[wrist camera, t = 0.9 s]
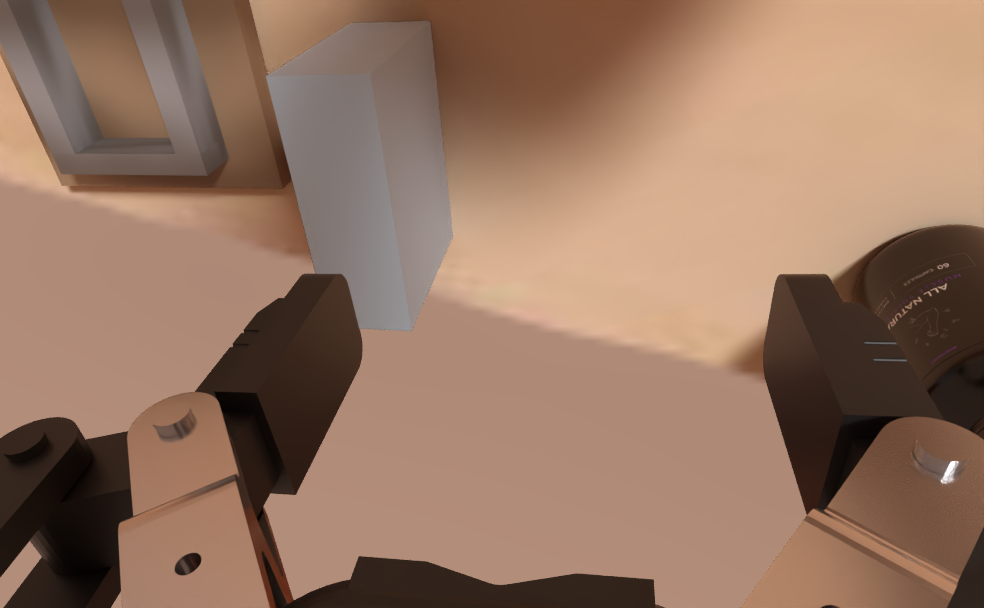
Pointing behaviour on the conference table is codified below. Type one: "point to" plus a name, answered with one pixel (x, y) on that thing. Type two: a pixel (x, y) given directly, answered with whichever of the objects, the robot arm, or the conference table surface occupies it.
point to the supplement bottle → (935, 313)
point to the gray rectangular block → (369, 163)
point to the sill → (146, 91)
